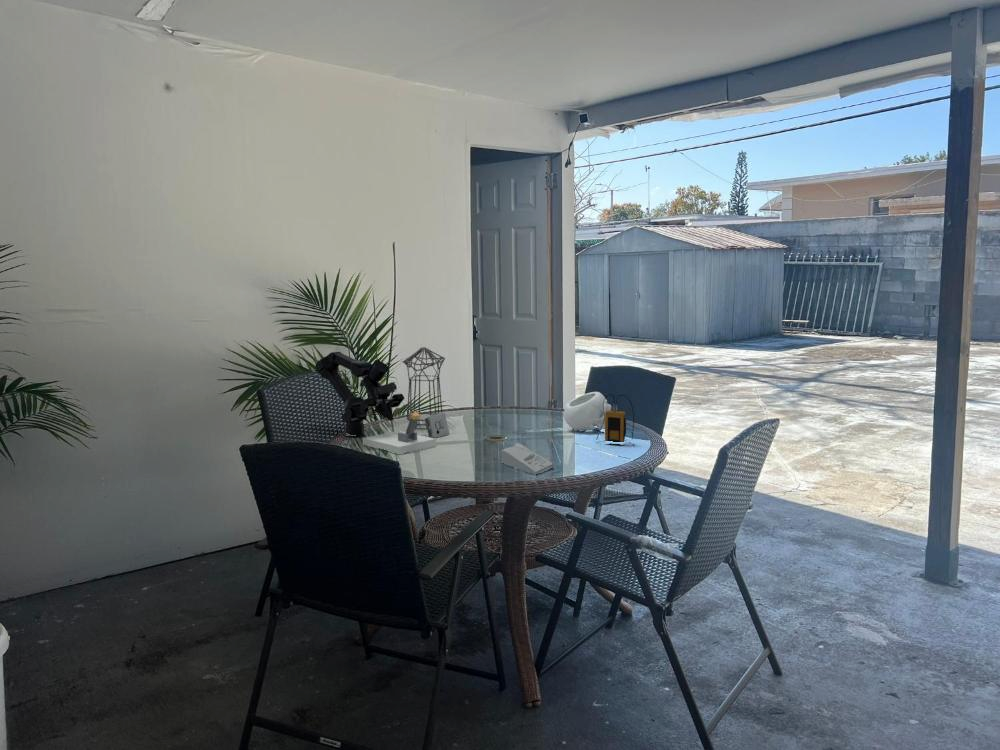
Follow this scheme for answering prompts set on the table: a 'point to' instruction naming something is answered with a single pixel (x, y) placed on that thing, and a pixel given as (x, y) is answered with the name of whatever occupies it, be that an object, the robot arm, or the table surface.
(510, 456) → the ramp
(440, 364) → the geometric lantern
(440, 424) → the electrical switch
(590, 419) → the skull planter
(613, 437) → the multimeter
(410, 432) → the handle
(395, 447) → the thin white panel
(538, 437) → the table surface
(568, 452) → the table surface
